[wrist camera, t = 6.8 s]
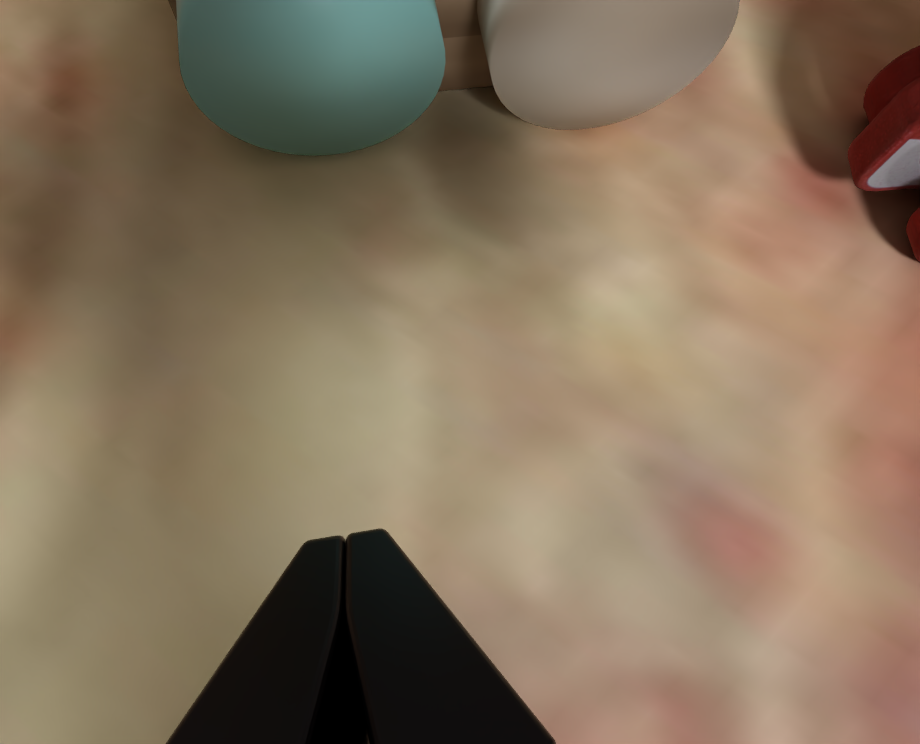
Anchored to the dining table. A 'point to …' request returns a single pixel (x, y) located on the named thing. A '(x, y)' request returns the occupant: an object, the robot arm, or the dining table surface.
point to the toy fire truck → (892, 135)
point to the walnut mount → (580, 53)
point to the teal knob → (311, 69)
